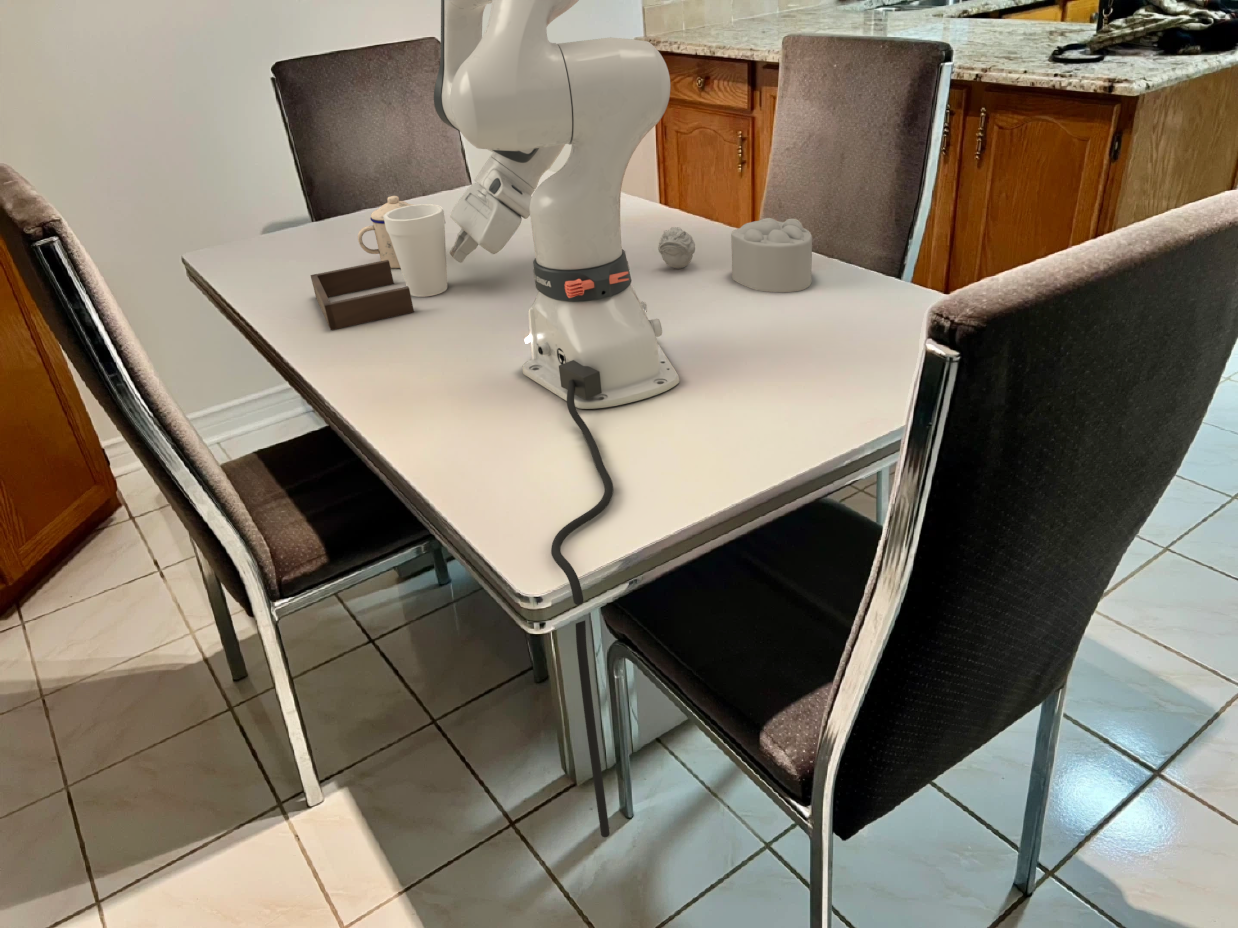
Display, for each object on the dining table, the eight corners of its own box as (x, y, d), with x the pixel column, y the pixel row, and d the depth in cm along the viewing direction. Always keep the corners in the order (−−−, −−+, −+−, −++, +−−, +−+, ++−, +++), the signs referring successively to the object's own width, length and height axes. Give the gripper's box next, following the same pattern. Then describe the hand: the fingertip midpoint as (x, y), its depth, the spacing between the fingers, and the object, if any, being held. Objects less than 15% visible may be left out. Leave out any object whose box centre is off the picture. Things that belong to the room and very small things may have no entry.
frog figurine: (654, 274, 153) (651, 232, 150) (666, 260, 159) (663, 219, 155) (690, 276, 151) (688, 233, 148) (701, 261, 157) (699, 220, 154)
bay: (414, 312, 148) (409, 287, 146) (330, 330, 144) (324, 305, 142) (392, 282, 161) (388, 259, 159) (316, 297, 157) (310, 275, 155)
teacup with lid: (425, 249, 176) (413, 187, 170) (435, 262, 169) (423, 197, 163) (361, 262, 173) (346, 198, 167) (368, 275, 165) (353, 210, 159)
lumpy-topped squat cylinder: (775, 261, 154) (775, 209, 150) (828, 281, 144) (830, 225, 140) (723, 276, 150) (721, 223, 145) (774, 298, 140) (774, 241, 135)
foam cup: (395, 287, 159) (379, 210, 152) (449, 276, 161) (435, 200, 155) (406, 304, 151) (389, 224, 144) (462, 292, 154) (448, 213, 147)
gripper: (470, 165, 160) (425, 232, 162) (505, 189, 143) (454, 264, 145) (499, 186, 163) (455, 252, 165) (536, 213, 147) (486, 286, 149)
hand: (454, 258), depth 155 cm, fingers closed, pressing on foam cup
